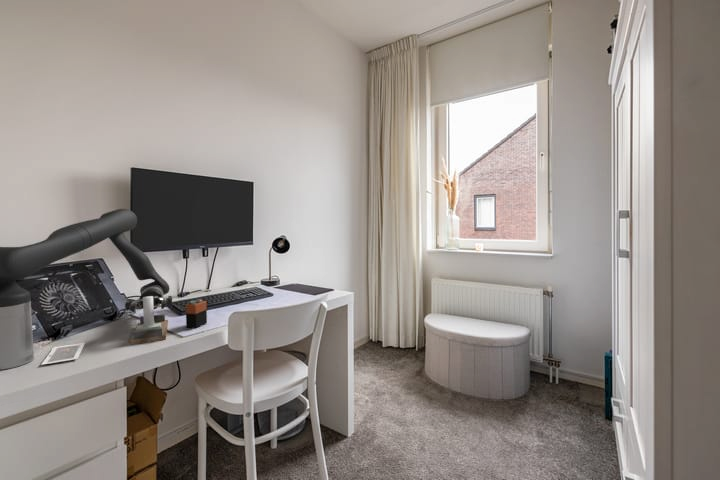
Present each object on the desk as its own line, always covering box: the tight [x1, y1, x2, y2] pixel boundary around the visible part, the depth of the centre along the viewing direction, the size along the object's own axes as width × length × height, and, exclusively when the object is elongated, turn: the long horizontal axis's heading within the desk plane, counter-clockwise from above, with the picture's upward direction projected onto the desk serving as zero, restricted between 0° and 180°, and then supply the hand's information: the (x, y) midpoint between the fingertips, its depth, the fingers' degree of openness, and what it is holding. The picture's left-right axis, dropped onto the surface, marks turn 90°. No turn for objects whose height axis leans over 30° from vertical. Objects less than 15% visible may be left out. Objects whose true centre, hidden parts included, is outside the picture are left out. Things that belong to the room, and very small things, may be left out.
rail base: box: [130, 313, 169, 345], centre depth 122 cm, size 10×20×4 cm, turn 28°
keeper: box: [135, 296, 161, 330], centre depth 116 cm, size 7×4×12 cm, turn 118°
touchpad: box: [40, 342, 86, 366], centre depth 102 cm, size 8×15×2 cm, turn 32°
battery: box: [185, 298, 208, 329], centre depth 130 cm, size 4×7×10 cm, turn 168°
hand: (148, 307), depth 115 cm, fingers open, 8 cm apart
